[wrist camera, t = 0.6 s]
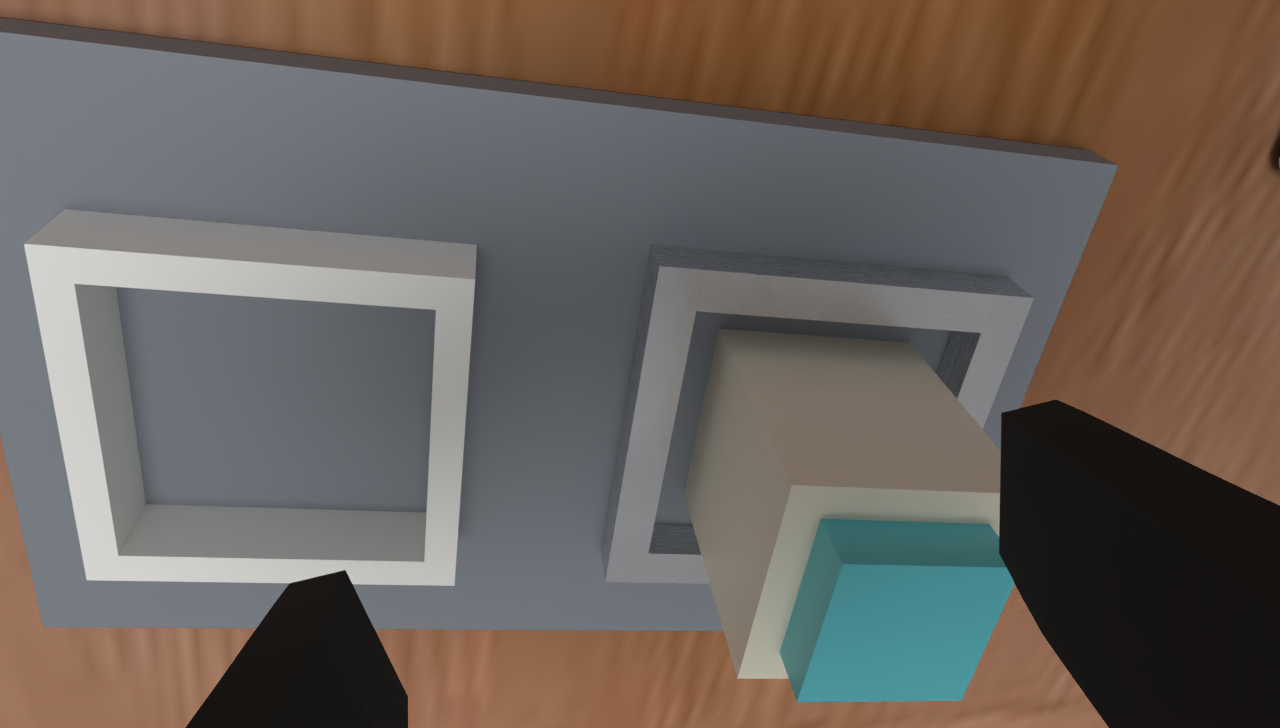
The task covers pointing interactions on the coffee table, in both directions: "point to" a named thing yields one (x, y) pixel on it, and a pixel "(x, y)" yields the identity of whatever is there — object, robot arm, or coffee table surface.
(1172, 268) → the coffee table surface
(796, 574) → the plug
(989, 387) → the frame
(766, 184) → the panel plate
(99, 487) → the port
